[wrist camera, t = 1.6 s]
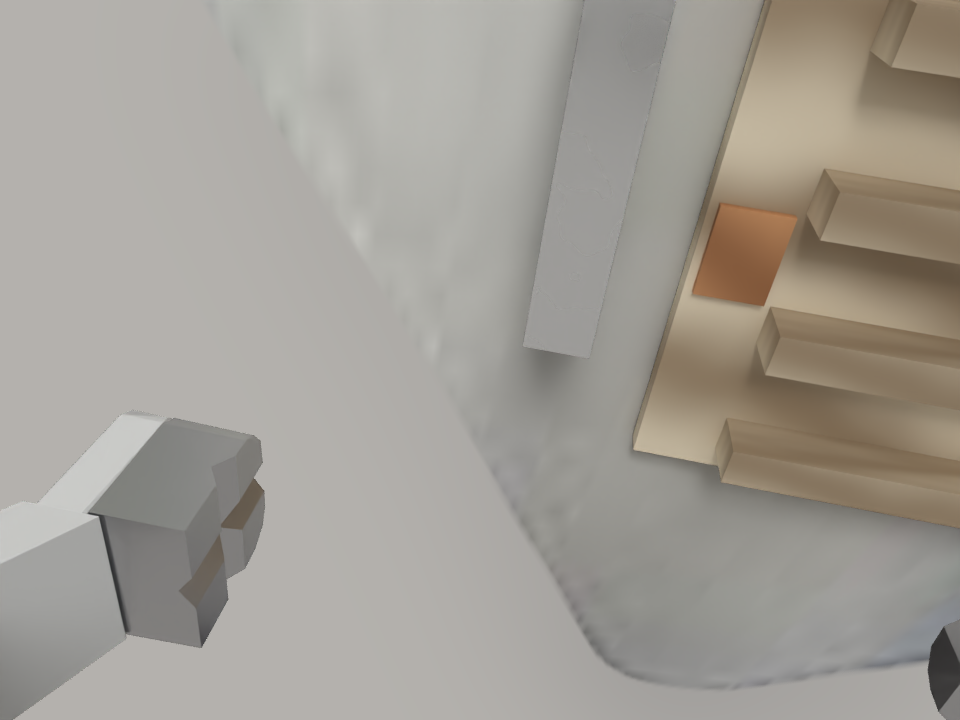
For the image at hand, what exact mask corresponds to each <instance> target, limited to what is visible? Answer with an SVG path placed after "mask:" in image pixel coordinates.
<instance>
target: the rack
mask: <svg viewBox="0 0 960 720" xmlns="http://www.w3.org/2000/svg"><path fill="white" fill-rule="evenodd" d="M633 450H637V451H642V452H647V453H652V454H658V455H663V456H668V457H673V458H679V459H684V460H689V461H694V462H699V463H705V464H710V465H715V466H718V467H719V473H720V479H721V482H722V483H727V484H733V485H738V486H743V487H748V488H753V489H759V490H764V491H769V492H774V493H779V494H784V495H790V496H795V497H800V498H805V499H810V500H816V501H821V502H826V503H831V504H836V505H842V506H847V507H852V508H857V509H862V510H867V511H873V512H878V513H883V514H888V515H893V516H899V517H904V518H909V519H914V520H919V521H925V522H930V523H935V524H940V525H945V526H950V527H956V528H960V0H765V1H764V5H763V8H762V11H761V15H760V18H759V21H758V24H757V28H756V31H755V34H754V38H753V41H752V44H751V47H750V51H749V54H748V57H747V61H746V64H745V67H744V71H743V74H742V77H741V80H740V84H739V87H738V90H737V94H736V97H735V100H734V103H733V107H732V110H731V113H730V117H729V120H728V123H727V127H726V130H725V133H724V136H723V140H722V143H721V146H720V150H719V153H718V156H717V159H716V163H715V166H714V169H713V173H712V176H711V179H710V182H709V186H708V189H707V192H706V196H705V199H704V202H703V206H702V209H701V212H700V215H699V219H698V222H697V225H696V229H695V232H694V235H693V238H692V242H691V245H690V248H689V252H688V255H687V258H686V262H685V265H684V268H683V271H682V275H681V278H680V281H679V285H678V288H677V291H676V294H675V298H674V301H673V304H672V308H671V311H670V314H669V318H668V321H667V324H666V327H665V331H664V334H663V337H662V341H661V344H660V347H659V350H658V354H657V357H656V360H655V364H654V367H653V370H652V374H651V377H650V380H649V383H648V387H647V390H646V393H645V397H644V400H643V403H642V406H641V410H640V413H639V416H638V420H637V423H636V426H635V429H634V433H633Z"/></svg>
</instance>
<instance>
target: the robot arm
mask: <svg viewBox="0 0 960 720" xmlns="http://www.w3.org/2000/svg"><path fill="white" fill-rule="evenodd" d="M262 463H263V461H262V451H261V441H260V440H259V439H258V438H257V437H255V436H254V435H249V434H245V433H240V432H236V431H231V430H227V429H222V428H218V427H213V426H208V425H204V424H199V423H195V422H190V421H186V420H181V419H176V418H173V419H171V418H167V417H162V416H158V415H154V414H149V413H145V412H141V411H136V410H131V411H129V412H126V413H123V414H121V415H120V416H119V417H118V418H117V419H116V420H115V421H114V422H113V423H112V424H111V425H110V426H109V427H108V428H107V429H106V430H105V432H103V434H102V435H101V436H100V437H99V438H98V439H97V440H96V441H95V442H94V443H93V444H92V445H91V446H90V447H89V449H87V450H86V451H85V453H84V454H83V455H82V456H81V457H80V458H79V459H78V460H77V461H76V462H75V463H74V464H73V465H72V466H71V467H70V468H69V469H68V471H67V472H66V473H65V474H64V475H63V476H62V477H61V478H60V479H59V480H58V481H57V482H56V484H54V485H53V487H51V489H50V490H49V491H48V492H47V493H46V494H45V495H44V496H43V497H42V498H41V499H40V500H39V501H38V502H37V503H32V502H25V501H22V502H20V503H17V504H15V505H12V506H10V507H8V508H5V509H3V510H0V720H13V719H15V718H16V717H17V716H19V715H20V714H22V713H23V712H24V711H26V710H27V709H29V708H30V707H31V706H33V705H34V704H36V703H37V702H38V701H40V700H41V699H43V698H44V697H45V696H47V695H48V694H50V693H51V692H53V691H54V690H55V689H57V688H58V687H60V686H61V685H62V684H64V683H65V682H67V681H68V680H69V679H71V678H72V677H73V676H75V675H76V674H78V673H79V672H80V671H82V670H83V669H85V668H86V667H88V666H89V665H90V664H92V663H93V662H95V661H96V660H97V659H99V658H100V657H102V656H103V655H104V654H106V653H107V652H109V651H110V650H111V649H113V648H114V647H116V646H117V645H118V644H120V643H121V642H123V641H124V640H125V639H126V634H128V635H133V636H139V637H144V638H150V639H155V640H160V641H166V642H171V643H177V644H183V645H187V646H193V647H198V648H202V646H203V644H204V642H205V641H206V639H207V637H208V635H209V633H210V632H211V630H212V628H213V626H214V624H215V623H216V621H217V618H218V617H219V615H220V613H221V612H222V610H223V608H224V606H225V604H226V602H227V601H228V591H227V580H226V579H228V578H230V577H232V576H233V575H235V574H237V573H238V572H240V571H242V570H243V569H245V567H246V566H247V564H248V562H249V560H250V558H251V556H252V554H253V552H254V550H255V548H256V544H257V541H258V538H259V535H260V532H261V529H262V525H263V518H264V510H265V497H264V490H263V489H262V488H261V486H260V485H259V484H258V483H257V481H256V480H255V479H254V476H255V475H256V473H257V471H258V469H259V468H260V466H261V464H262ZM928 675H929V683H930V690H931V692H932V695H933V698H934V700H935V703H936V706H937V709H938V712H939V713H940V714H941V715H942V716H943V717H944V718H945V719H946V720H960V619H959V620H957V621H955V622H953V623H950V624H948V625H946V626H944V627H943V629H942V630H941V632H940V633H939V635H938V636H937V638H936V640H935V641H934V643H933V644H932V646H931V652H930V658H929V665H928Z"/></svg>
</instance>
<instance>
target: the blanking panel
mask: <svg viewBox="0 0 960 720" xmlns="http://www.w3.org/2000/svg"><path fill="white" fill-rule="evenodd" d="M675 3H676V0H584V5H583V11H582V16H581V22H580V28H579V33H578V39H577V45H576V50H575V56H574V61H573V67H572V73H571V78H570V84H569V89H568V95H567V101H566V106H565V112H564V117H563V123H562V129H561V134H560V140H559V145H558V151H557V157H556V162H555V168H554V173H553V179H552V185H551V190H550V196H549V201H548V207H547V213H546V218H545V224H544V229H543V235H542V241H541V246H540V252H539V257H538V263H537V269H536V274H535V280H534V285H533V291H532V297H531V302H530V308H529V313H528V319H527V325H526V330H525V336H524V341H523V347H528V348H534V349H539V350H544V351H550V352H555V353H561V354H566V355H571V356H577V357H582V358H588V359H589V358H590V354H591V350H592V346H593V341H594V337H595V333H596V329H597V325H598V321H599V317H600V312H601V308H602V304H603V300H604V296H605V292H606V288H607V284H608V279H609V275H610V271H611V267H612V263H613V259H614V255H615V250H616V246H617V242H618V238H619V234H620V230H621V226H622V222H623V217H624V213H625V209H626V205H627V201H628V197H629V193H630V188H631V184H632V180H633V176H634V172H635V168H636V164H637V160H638V155H639V151H640V147H641V143H642V139H643V135H644V131H645V127H646V122H647V118H648V114H649V110H650V106H651V102H652V98H653V93H654V89H655V85H656V81H657V77H658V73H659V69H660V65H661V60H662V56H663V52H664V48H665V44H666V40H667V36H668V31H669V27H670V23H671V19H672V15H673V11H674V7H675Z"/></svg>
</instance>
